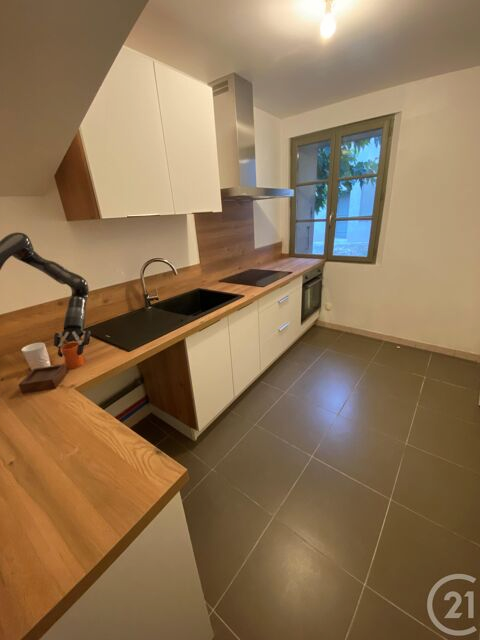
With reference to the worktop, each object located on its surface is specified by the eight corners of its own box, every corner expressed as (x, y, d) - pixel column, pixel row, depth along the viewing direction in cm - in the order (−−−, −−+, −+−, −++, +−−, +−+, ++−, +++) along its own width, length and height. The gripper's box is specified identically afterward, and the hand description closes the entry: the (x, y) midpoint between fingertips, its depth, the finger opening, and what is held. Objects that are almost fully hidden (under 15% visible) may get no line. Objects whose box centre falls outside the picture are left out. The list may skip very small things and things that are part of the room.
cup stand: (22, 393, 94) (18, 384, 93) (37, 377, 104) (34, 368, 103) (55, 388, 96) (52, 379, 94) (67, 372, 106) (64, 364, 105)
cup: (64, 370, 108) (57, 350, 105) (70, 362, 114) (64, 343, 111) (81, 367, 109) (75, 348, 106) (86, 359, 115) (80, 341, 112)
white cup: (32, 374, 106) (23, 353, 102) (28, 368, 111) (19, 347, 107) (54, 366, 111) (46, 345, 108) (49, 360, 116) (42, 340, 113)
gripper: (96, 320, 119) (92, 356, 112) (62, 324, 118) (57, 359, 111) (87, 314, 112) (83, 351, 105) (52, 317, 111) (46, 354, 104)
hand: (70, 355), depth 108 cm, fingers closed on cup, 6 cm apart
